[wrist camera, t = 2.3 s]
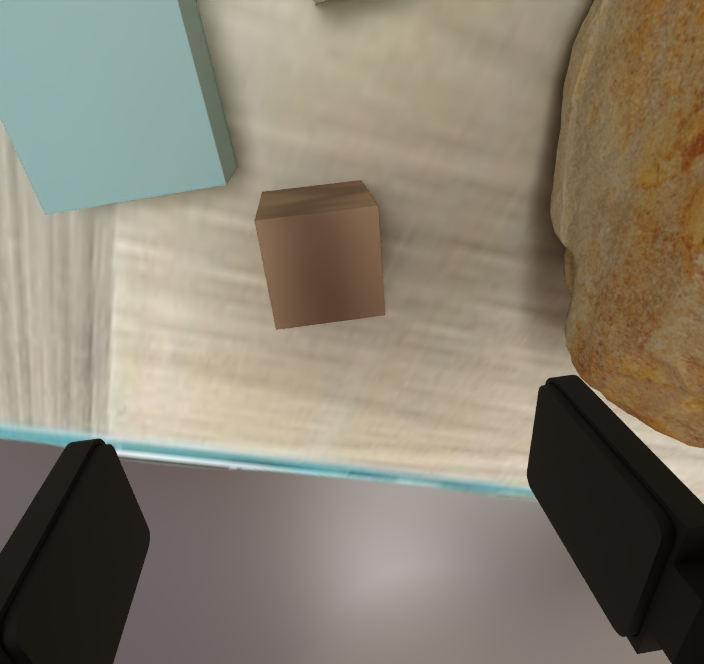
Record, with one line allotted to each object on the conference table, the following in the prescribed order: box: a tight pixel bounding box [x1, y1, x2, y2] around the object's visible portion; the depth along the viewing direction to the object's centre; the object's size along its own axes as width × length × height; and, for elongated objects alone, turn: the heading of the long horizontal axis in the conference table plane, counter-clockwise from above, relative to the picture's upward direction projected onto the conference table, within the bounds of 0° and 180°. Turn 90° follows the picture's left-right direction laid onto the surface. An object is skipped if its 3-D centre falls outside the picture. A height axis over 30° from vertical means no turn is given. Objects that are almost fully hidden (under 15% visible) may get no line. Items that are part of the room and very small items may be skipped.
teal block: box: [0, 0, 237, 215], centre depth 21 cm, size 8×8×5 cm
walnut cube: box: [255, 180, 385, 330], centre depth 24 cm, size 6×6×6 cm
